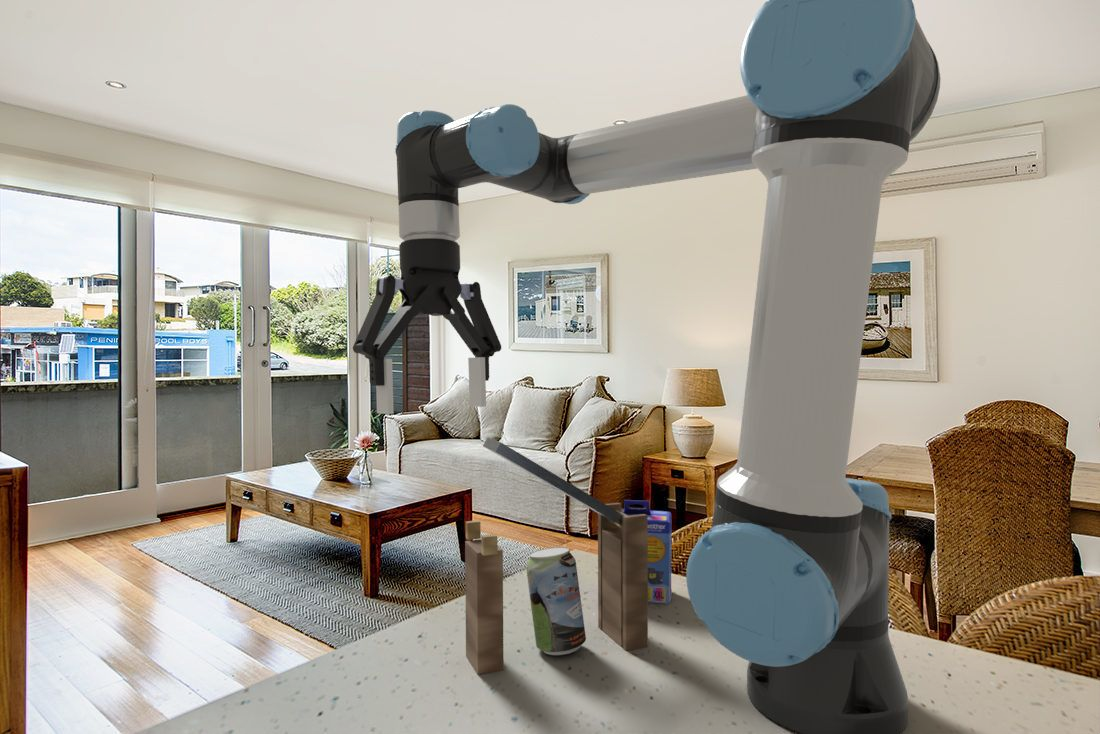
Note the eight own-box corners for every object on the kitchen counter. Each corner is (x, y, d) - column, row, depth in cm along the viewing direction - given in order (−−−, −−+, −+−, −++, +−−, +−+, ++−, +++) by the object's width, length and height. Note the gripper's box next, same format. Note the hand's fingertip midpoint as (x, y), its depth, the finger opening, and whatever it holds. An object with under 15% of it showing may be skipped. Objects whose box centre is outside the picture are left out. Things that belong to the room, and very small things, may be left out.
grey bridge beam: (614, 525, 85) (621, 513, 86) (633, 535, 81) (640, 522, 81) (481, 448, 78) (489, 434, 79) (494, 454, 74) (502, 440, 74)
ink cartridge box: (601, 600, 95) (600, 500, 95) (605, 587, 101) (605, 492, 100) (671, 605, 93) (671, 503, 93) (671, 591, 99) (671, 495, 98)
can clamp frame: (618, 623, 87) (618, 502, 87) (647, 646, 80) (647, 515, 80) (463, 651, 79) (462, 518, 79) (480, 679, 72) (479, 534, 72)
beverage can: (574, 666, 75) (573, 561, 75) (517, 654, 78) (516, 553, 78) (594, 644, 81) (593, 546, 81) (540, 633, 84) (539, 539, 84)
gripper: (490, 254, 95) (494, 403, 95) (321, 235, 78) (325, 415, 78) (524, 246, 89) (528, 404, 89) (349, 224, 72) (354, 418, 72)
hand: (434, 410), depth 84 cm, fingers open, 13 cm apart
